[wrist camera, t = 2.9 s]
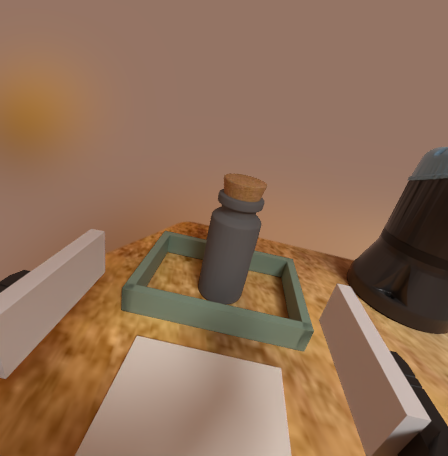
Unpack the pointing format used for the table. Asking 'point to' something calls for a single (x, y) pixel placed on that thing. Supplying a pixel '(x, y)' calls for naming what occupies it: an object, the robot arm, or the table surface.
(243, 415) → the tile
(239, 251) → the bottle
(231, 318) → the green rectangular frame
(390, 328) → the table surface
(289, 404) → the table surface
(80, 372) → the table surface
